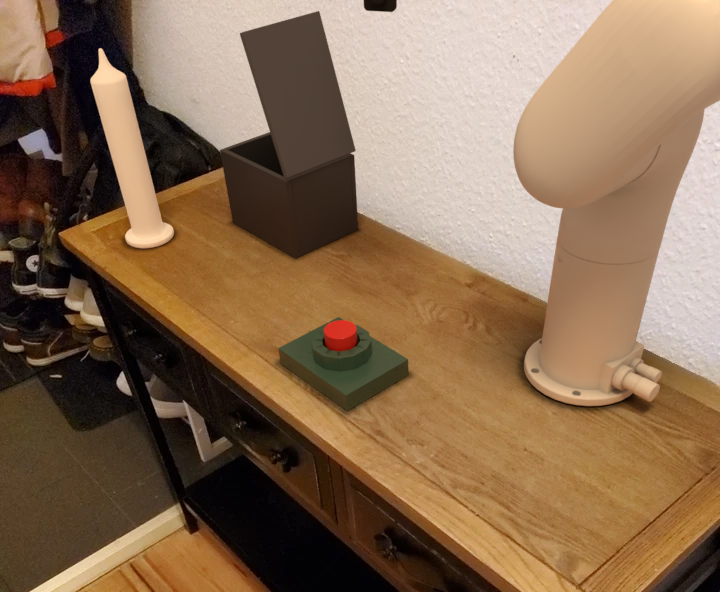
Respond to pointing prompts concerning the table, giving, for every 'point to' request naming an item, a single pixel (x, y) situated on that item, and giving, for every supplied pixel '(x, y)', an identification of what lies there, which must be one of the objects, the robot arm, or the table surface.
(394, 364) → the control block
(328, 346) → the red button
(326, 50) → the lid
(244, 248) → the table surface
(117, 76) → the candle
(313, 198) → the open storage bin
